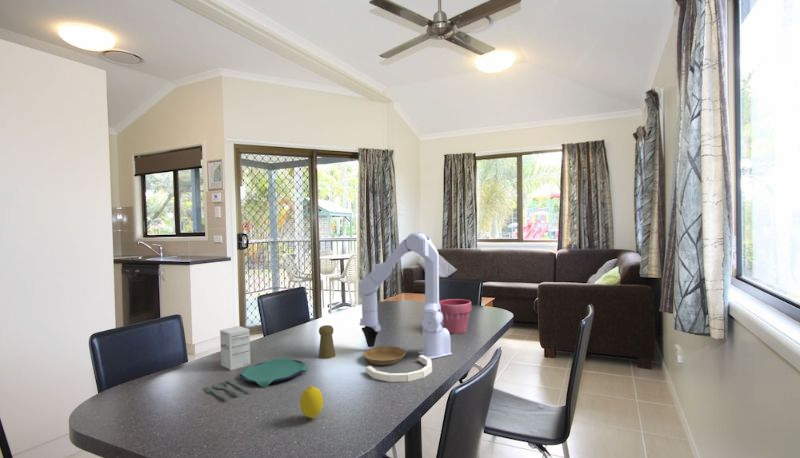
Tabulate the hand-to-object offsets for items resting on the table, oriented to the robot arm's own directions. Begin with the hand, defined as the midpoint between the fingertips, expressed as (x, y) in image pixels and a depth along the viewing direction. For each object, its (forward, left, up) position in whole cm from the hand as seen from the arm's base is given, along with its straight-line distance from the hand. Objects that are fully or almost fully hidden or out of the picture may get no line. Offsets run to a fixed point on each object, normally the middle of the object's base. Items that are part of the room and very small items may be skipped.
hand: (370, 346), depth 152 cm
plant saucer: (0, +12, -2) cm, 12 cm away
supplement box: (+46, -11, -2) cm, 47 cm away
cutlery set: (+41, +6, -2) cm, 42 cm away
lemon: (+34, +41, -2) cm, 53 cm away
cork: (+16, -3, -2) cm, 16 cm away
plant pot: (-42, -4, -2) cm, 42 cm away
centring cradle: (0, +27, -2) cm, 27 cm away
